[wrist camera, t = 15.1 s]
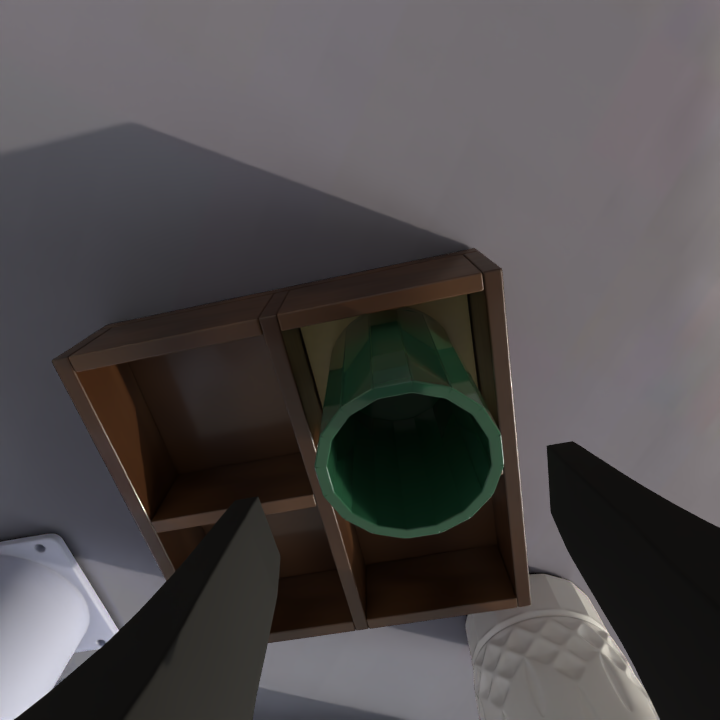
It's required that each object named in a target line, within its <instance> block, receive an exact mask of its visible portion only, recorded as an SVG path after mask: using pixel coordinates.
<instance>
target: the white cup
mask: <svg viewBox="0 0 720 720" xmlns="http://www.w3.org/2000/svg"><path fill="white" fill-rule="evenodd" d="M529 582H530V593H531V605H530V606H523V607H518V606H517V608H511V609H504V610H497V611H490V612H483V613H476V614H469V615H468V616H467V619H466V623H465V628H466V634H467V639H468V644H469V650H470V655H471V660H472V666H473V670H474V690H475V697H476V703H477V709H478V714H479V720H660V719H659V717H658V714H657V712H656V710H655V708H654V706H653V704H652V702H651V700H650V698H649V696H648V694H647V692H646V691H645V689H644V688H643V686H642V685H641V683H640V682H639V680H638V679H637V677H636V676H635V674H634V672H633V670H632V668H631V667H630V665H629V663H628V661H627V659H626V658H625V656H624V655H623V653H622V652H621V650H620V649H619V647H618V646H617V644H616V643H615V642H614V640H613V639H612V638H611V636H610V635H609V633H608V631H607V630H606V628H605V626H604V624H603V622H602V621H601V619H600V617H599V615H598V614H597V612H596V610H595V608H594V607H593V605H592V603H591V601H590V600H589V598H588V597H587V595H586V594H584V593H583V592H582V591H581V590H580V589H579V588H578V587H576V586H575V585H574V584H573V583H572V582H571V581H569V580H566V579H562V578H558V577H555V576H551V575H547V574H530V575H529Z"/></svg>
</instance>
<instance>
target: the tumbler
mask: <svg viewBox="0 0 720 720" xmlns="http://www.w3.org/2000/svg"><path fill="white" fill-rule="evenodd" d="M314 468H315V472H316V475H317V478H318V482H319V485H320V488H321V492H322V495H323V496H324V498H325V499H326V500H327V501H328V502H329V503H330V504H331V506H332V507H333V508H334V509H335V510H336V511H337V512H338V513H339V514H340V516H341V517H342V518H343V519H345V520H346V521H348V522H350V523H352V524H354V525H356V526H358V527H360V528H362V529H364V530H366V531H368V532H370V533H373V534H377V535H384V536H391V537H398V538H414V537H420V536H427V535H433V534H439V533H442V532H444V531H446V530H448V529H450V528H452V527H454V526H456V525H458V524H460V523H462V522H464V521H466V520H468V519H470V518H471V517H472V516H473V515H474V514H475V513H476V512H477V511H478V510H479V509H480V508H481V507H482V506H483V505H484V504H485V503H486V502H487V501H488V500H489V499H490V498H491V496H492V495H493V494H494V491H495V489H496V486H497V483H498V481H499V478H500V475H501V473H502V470H503V468H504V456H503V446H502V436H501V433H500V431H499V429H498V427H497V425H496V423H495V421H494V419H493V417H492V415H491V413H490V411H489V409H488V407H487V406H486V404H485V402H484V400H483V398H482V396H481V394H480V392H479V390H478V388H477V386H476V384H475V382H474V380H473V378H472V376H471V375H470V373H469V371H468V369H467V367H466V365H465V363H464V361H463V359H462V357H461V355H460V353H459V351H458V349H457V347H456V346H455V344H454V343H453V341H452V340H451V338H450V336H449V334H448V333H447V331H446V330H445V329H444V327H443V326H442V325H441V324H440V323H439V322H438V321H436V320H435V319H434V318H432V317H431V316H429V315H427V314H425V313H424V312H421V311H419V310H416V309H412V308H408V307H400V308H395V309H390V310H385V311H380V312H375V313H370V314H365V315H361V316H359V317H357V318H356V319H355V320H353V321H352V322H351V323H350V324H349V325H348V326H347V327H346V328H345V329H344V330H343V331H342V333H341V334H340V335H339V337H338V339H337V340H336V342H335V345H334V347H333V350H332V354H331V359H330V365H329V371H328V377H327V384H326V390H325V397H324V404H323V410H322V417H321V423H320V430H319V436H318V443H317V450H316V456H315V463H314Z"/></svg>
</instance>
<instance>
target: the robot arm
mask: <svg viewBox="0 0 720 720" xmlns="http://www.w3.org/2000/svg"><path fill="white" fill-rule="evenodd" d="M547 457H548V474H549V491H550V508H551V514H552V516H553V518H554V521H555V523H556V525H557V528H558V530H559V532H560V535H561V537H562V539H563V541H564V544H565V546H566V548H567V550H568V552H569V554H570V556H571V557H572V559H573V561H574V563H575V564H576V566H577V568H578V569H579V571H580V573H581V575H582V576H583V578H584V580H585V582H586V583H587V585H588V587H589V588H590V590H591V592H592V593H593V595H594V597H595V598H596V600H597V602H598V604H599V605H600V607H601V609H602V610H603V612H604V614H605V615H606V617H607V619H608V620H609V622H610V624H611V626H612V627H613V629H614V631H615V632H616V634H617V636H618V637H619V639H620V641H621V642H622V644H623V646H624V648H625V650H626V652H627V653H628V655H629V657H630V659H631V661H632V663H633V665H634V666H635V669H636V671H637V673H638V675H639V677H640V679H641V681H642V683H643V685H644V687H645V689H646V691H647V694H648V696H649V698H650V700H651V702H652V704H653V706H654V708H655V710H656V712H657V714H658V717H659V719H660V720H720V528H719V527H717V526H715V525H713V524H711V523H709V522H707V521H705V520H703V519H701V518H699V517H697V516H695V515H694V514H692V513H690V512H688V511H686V510H684V509H683V508H681V507H679V506H677V505H675V504H673V503H671V502H670V501H668V500H666V499H664V498H663V497H661V496H659V495H657V494H656V493H654V492H652V491H651V490H649V489H647V488H646V487H644V486H642V485H641V484H639V483H637V482H636V481H634V480H632V479H631V478H629V477H628V476H626V475H624V474H623V473H621V472H620V471H618V470H617V469H615V468H613V467H612V466H610V465H609V464H607V463H606V462H604V461H603V460H601V459H599V458H598V457H596V456H595V455H593V454H592V453H590V452H589V451H587V450H586V449H584V448H583V447H581V446H580V445H578V444H576V443H575V442H573V441H571V442H566V443H560V444H554V445H549V446H547ZM279 570H280V553H279V551H278V548H277V545H276V543H275V540H274V537H273V535H272V532H271V529H270V527H269V524H268V521H267V519H266V516H265V513H264V511H263V508H262V505H261V503H260V500H259V497H258V496H257V497H251V498H245V499H240V500H235V501H234V502H233V503H232V504H231V505H230V507H229V508H228V509H227V510H226V511H225V513H224V514H223V515H222V516H221V517H220V519H219V520H218V521H217V522H216V524H215V525H214V526H213V527H212V528H211V530H210V531H209V532H208V533H207V535H206V536H205V537H204V538H203V539H202V541H201V542H200V543H199V544H198V545H197V547H196V548H195V549H194V550H193V551H192V553H191V554H190V555H189V556H188V557H187V559H186V560H185V561H184V562H183V563H182V565H181V566H180V567H179V568H178V569H177V570H176V571H175V572H174V574H173V575H172V576H171V577H170V578H169V579H168V580H167V581H166V582H165V583H164V585H163V586H162V587H161V588H160V589H159V590H158V591H157V592H156V593H155V595H154V596H153V597H152V598H151V599H150V600H149V601H148V602H147V603H146V604H145V605H144V606H143V607H142V608H141V609H140V611H139V612H138V613H137V614H136V615H135V616H134V617H133V618H132V619H131V620H130V621H129V622H127V623H126V624H125V625H124V626H123V627H122V628H121V629H120V630H118V628H117V627H116V625H115V623H114V622H113V620H112V618H111V617H110V615H109V614H108V612H107V610H106V609H105V607H104V605H103V604H102V602H101V601H100V599H99V597H98V596H97V594H96V592H95V591H94V589H93V587H92V586H91V584H90V583H89V581H88V579H87V578H86V576H85V574H84V573H83V571H82V570H81V568H80V566H79V565H78V563H77V561H76V560H75V558H74V557H73V555H72V553H71V552H70V550H69V548H68V547H67V545H66V544H65V542H64V540H63V539H62V538H61V537H60V536H59V535H57V534H54V533H51V534H43V535H37V536H31V537H25V538H20V539H14V540H8V541H2V542H0V720H252V719H253V713H254V707H255V702H256V696H257V691H258V686H259V681H260V677H261V672H262V667H263V662H264V658H265V653H266V648H267V644H268V639H269V634H270V629H271V625H272V620H273V615H274V610H275V605H276V600H277V593H278V582H279ZM96 649H99V650H98V651H97V652H95V653H94V654H93V655H92V656H91V657H90V658H88V659H87V660H86V661H85V662H84V663H83V664H81V665H80V666H79V667H78V668H77V669H76V670H75V671H73V672H72V673H71V674H70V675H69V676H68V677H66V678H65V679H64V680H63V681H62V682H61V683H59V684H58V685H57V686H56V687H55V688H53V687H54V686H55V684H56V682H57V681H58V679H59V677H60V675H61V674H62V672H63V670H64V669H65V667H66V665H67V663H68V662H69V660H70V658H71V657H72V655H73V653H76V652H83V651H89V650H96Z"/></svg>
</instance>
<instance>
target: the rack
mask: <svg viewBox="0 0 720 720" xmlns="http://www.w3.org/2000/svg"><path fill="white" fill-rule="evenodd" d="M400 307H408V308H412V309H416V310H419V311H421V312H424V313H425V314H427V315H429V316H431V317H432V318H434V319H435V320H436V321H438V322H439V323H440V324H441V325H442V326H443V327H444V329H445V330H446V331H447V333H448V334H449V336H450V338H451V340H452V341H453V343H454V344H455V346H456V347H457V349H458V351H459V353H460V355H461V357H462V359H463V361H464V363H465V365H466V367H467V369H468V371H469V373H470V375H471V376H472V378H473V380H474V382H475V384H476V386H477V388H478V390H479V392H480V394H481V396H482V398H483V400H484V402H485V404H486V406H487V407H488V409H489V411H490V413H491V415H492V417H493V419H494V421H495V423H496V425H497V427H498V429H499V431H500V433H501V436H502V446H503V456H504V468H503V470H502V473H501V475H500V478H499V481H498V483H497V486H496V489H495V491H494V494H493V495H492V496H491V498H490V499H489V500H488V501H487V502H486V503H485V504H484V505H483V506H482V507H481V508H480V509H479V510H478V511H477V512H476V513H475V514H474V515H473V516H472V517H471V518H470V519H468V520H466V521H464V522H462V523H460V524H458V525H456V526H454V527H452V528H450V529H448V530H446V531H444V532H442V533H439V534H433V535H427V536H420V537H414V538H398V537H391V536H384V535H377V534H373V533H370V532H368V531H366V530H364V529H362V528H360V527H358V526H356V525H354V524H352V523H350V522H348V521H346V520H345V519H343V518H342V517H341V516H340V514H339V513H338V512H337V511H336V510H335V509H334V508H333V507H332V506H331V504H330V503H329V502H328V501H327V500H326V499H325V498H324V496H323V495H322V492H321V488H320V485H319V482H318V478H317V475H316V472H315V468H314V463H315V456H316V450H317V443H318V436H319V430H320V423H321V417H322V410H323V404H324V397H325V390H326V384H327V377H328V371H329V365H330V359H331V354H332V350H333V347H334V345H335V342H336V340H337V339H338V337H339V335H340V334H341V333H342V331H343V330H344V329H345V328H346V327H347V326H348V325H349V324H350V323H351V322H352V321H353V320H355V319H356V318H357V317H359V316H361V315H365V314H370V313H375V312H380V311H385V310H390V309H395V308H400ZM52 363H53V365H54V367H55V369H56V371H57V373H58V375H59V377H60V379H61V380H62V382H63V384H64V386H65V388H66V390H67V392H68V394H69V396H70V398H71V400H72V402H73V403H74V405H75V407H76V409H77V411H78V413H79V415H80V417H81V419H82V421H83V423H84V424H85V426H86V428H87V430H88V432H89V434H90V436H91V438H92V440H93V442H94V444H95V446H96V447H97V449H98V451H99V453H100V455H101V457H102V459H103V461H104V463H105V465H106V467H107V469H108V470H109V472H110V474H111V476H112V478H113V480H114V482H115V484H116V486H117V488H118V490H119V492H120V493H121V495H122V497H123V499H124V501H125V503H126V505H127V507H128V509H129V511H130V513H131V515H132V516H133V518H134V520H135V522H136V524H137V526H138V528H139V530H140V532H141V534H142V536H143V538H144V539H145V541H146V543H147V545H148V547H149V549H150V551H151V553H152V555H153V557H154V559H155V561H156V562H157V564H158V566H159V568H160V570H161V572H162V574H163V576H164V578H165V580H166V581H167V580H168V579H169V578H170V577H171V576H172V575H173V574H174V572H175V571H176V570H177V569H178V568H179V567H180V566H181V565H182V563H183V562H184V561H185V560H186V559H187V557H188V556H189V555H190V554H191V553H192V551H193V550H194V549H195V548H196V547H197V545H198V544H199V543H200V542H201V541H202V539H203V538H204V537H205V536H206V535H207V533H208V532H209V531H210V530H211V528H212V527H213V526H214V525H215V524H216V522H217V521H218V520H219V519H220V517H221V516H222V515H223V514H224V513H225V511H226V510H227V509H228V508H229V507H230V505H231V504H232V503H233V502H234V501H235V500H240V499H245V498H251V497H257V496H258V497H259V500H260V503H261V505H262V508H263V511H264V513H265V516H266V519H267V521H268V524H269V527H270V529H271V532H272V535H273V537H274V540H275V543H276V545H277V548H278V551H279V553H280V570H279V582H278V593H277V600H276V605H275V610H274V615H273V620H272V625H271V629H270V634H269V639H268V643H272V642H279V641H286V640H293V639H300V638H307V637H314V636H321V635H328V634H335V633H342V632H349V631H355V629H356V630H363V629H368V628H370V629H371V628H378V627H385V626H392V625H399V624H406V623H413V622H420V621H427V620H434V619H441V618H448V617H455V616H462V615H469V614H476V613H483V612H490V611H497V610H504V609H511V608H517V606H518V607H523V606H530V605H531V593H530V582H529V571H528V559H527V548H526V536H525V525H524V514H523V502H522V491H521V479H520V468H519V457H518V445H517V434H516V422H515V411H514V399H513V388H512V377H511V365H510V354H509V342H508V331H507V320H506V308H505V297H504V285H503V274H502V269H501V268H500V267H499V266H497V265H496V264H495V263H494V262H492V261H491V260H490V259H488V258H487V257H486V256H484V255H483V254H482V253H480V252H479V251H478V250H476V249H475V248H472V249H468V250H463V251H458V252H453V253H449V254H444V255H439V256H434V257H429V258H425V259H420V260H415V261H410V262H406V263H401V264H396V265H391V266H386V267H382V268H377V269H372V270H367V271H362V272H358V273H353V274H348V275H343V276H339V277H334V278H329V279H324V280H319V281H315V282H310V283H305V284H300V285H296V286H291V287H286V288H281V289H276V290H272V291H267V292H262V293H257V294H253V295H248V296H243V297H238V298H233V299H229V300H224V301H219V302H214V303H209V304H205V305H200V306H195V307H190V308H186V309H181V310H176V311H171V312H166V313H162V314H157V315H152V316H147V317H143V318H138V319H133V320H128V321H123V322H119V323H114V324H109V325H106V326H104V327H103V328H101V329H100V330H98V331H97V332H95V333H93V334H92V335H90V336H89V337H87V338H86V339H84V340H83V341H81V342H80V343H78V344H76V345H75V346H73V347H72V348H70V349H69V350H67V351H66V352H64V353H62V354H61V355H59V356H58V357H56V358H55V359H53V360H52Z"/></svg>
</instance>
